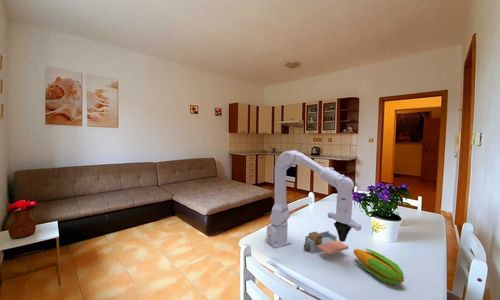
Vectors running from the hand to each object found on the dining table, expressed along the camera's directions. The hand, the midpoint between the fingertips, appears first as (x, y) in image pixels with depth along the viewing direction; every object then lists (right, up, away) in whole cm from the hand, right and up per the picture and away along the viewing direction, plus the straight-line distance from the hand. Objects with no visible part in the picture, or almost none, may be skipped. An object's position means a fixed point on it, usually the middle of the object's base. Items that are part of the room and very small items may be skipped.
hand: (342, 240), depth 88 cm
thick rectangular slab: (-3, -5, +7) cm, 9 cm away
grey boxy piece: (-5, -8, +11) cm, 14 cm away
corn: (+9, -9, -7) cm, 15 cm away
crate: (-8, -5, +9) cm, 13 cm away
